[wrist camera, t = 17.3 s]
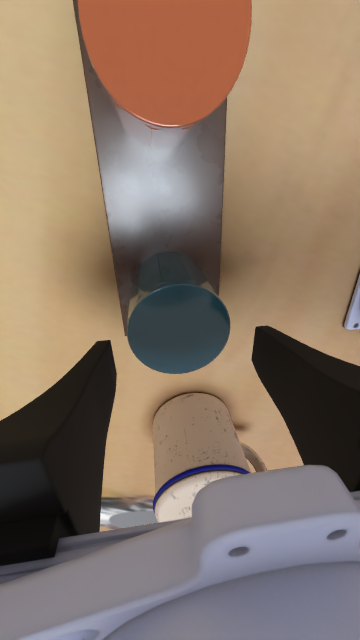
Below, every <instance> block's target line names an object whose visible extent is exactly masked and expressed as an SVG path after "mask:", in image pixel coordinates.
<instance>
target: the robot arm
mask: <svg viewBox="0 0 360 640" xmlns="http://www.w3.org/2000/svg"><path fill="white" fill-rule="evenodd" d="M354 324H355V325H354ZM344 328H346V329H347V330H356V329H360V275H359V278H358V281H357V284H356V288H355V291H354V294H353V297H352V301H351V304H350V307H349V310H348V314H347V317H346V320H345V323H344ZM252 362H253V364H254V367H255V369H256V372H257V374H258V376H259V378H260V380H261V382H262V383H263V385H264V387H265V388H266V390H267V392H268V393H269V395H270V397H271V398H272V400H273V402H274V403H275V405H276V406H277V408H278V410H279V411H280V413H281V415H282V417H283V419H284V421H285V423H286V425H287V427H288V429H289V431H290V433H291V436H292V438H293V440H294V442H295V445H296V447H297V449H298V452H299V454H300V456H301V458H302V461H303V463H304V465H303V466H297V467H290V468H283V469H276V470H269V471H262V472H255V473H248V474H242V475H235V476H228V477H225V478H222V479H218V480H215V481H212V482H210V483H209V484H208V485H206V486H205V487H203V488H202V489H201V490H199V491H198V493H197V494H196V496H195V499H194V501H193V503H192V517H190V518H185V519H179V520H172V521H166V522H160V523H154V524H147V525H141V526H135V527H129V528H122V529H116V530H109V531H103V532H99V530H100V511H101V495H102V481H103V468H104V457H105V446H106V439H107V432H108V427H109V422H110V418H111V413H112V408H113V402H114V397H115V392H116V376H117V373H116V368H115V363H114V357H113V352H112V347H111V341H110V340H105V341H97V342H96V343H95V344H94V345H93V346H92V347H91V349H90V350H89V351H88V352H87V353H86V354H85V355H84V356H83V357H82V359H81V360H80V361H79V362H78V363H77V364H76V365H75V366H74V367H73V368H72V369H71V370H70V371H69V372H68V373H67V374H66V375H65V376H63V377H62V378H61V379H60V380H59V381H58V382H57V383H56V384H54V385H53V386H52V387H51V388H49V389H48V390H47V391H46V392H44V393H43V394H42V395H40V396H39V397H37V398H36V399H34V400H33V401H32V402H30V403H29V404H27V405H26V406H24V407H23V408H21V409H20V410H18V411H16V412H15V413H13V414H11V415H10V416H8V417H6V418H5V419H3V420H1V421H0V640H360V366H357V365H354V364H351V363H348V362H345V361H343V360H340V359H337V358H335V357H332V356H329V355H327V354H325V353H322V352H320V351H318V350H316V349H314V348H311V347H309V346H307V345H305V344H303V343H301V342H299V341H297V340H295V339H293V338H291V337H289V336H288V335H286V334H284V333H282V332H280V331H278V330H276V329H274V328H272V327H269V326H258V327H256V328H255V336H254V345H253V353H252Z"/></svg>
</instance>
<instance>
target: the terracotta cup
mask: <svg viewBox="0 0 360 640" xmlns="http://www.w3.org/2000/svg"><path fill="white" fill-rule="evenodd" d="M78 10H79V20H80V25H81V30H82V35H83V39H84V42H85V45H86V49H87V52H88V55H89V58H90V61H91V64H92V66H93V68H94V71H95V73H96V75H97V78H98V80H99V82H100V84H101V87H102V89H103V91H104V94H105V96H106V98H107V100H108V103H109V105H110V107H111V109H112V111H113V112H114V114H115V116H116V118H117V119H118V121H119V123H120V124H121V126H122V128H123V129H124V131H125V133H127V135H129V136H130V137H132V138H133V139H135V140H137V141H138V142H140V143H141V144H143V145H145V146H146V147H148V148H173V147H175V146H177V145H178V144H179V143H181V142H182V141H183V140H185V139H186V138H187V137H189V136H190V135H192V134H193V133H194V132H195V131H196V130H197V129H198V128H199V127H200V126H201V125H202V124H203V123H204V122H205V121H206V120H207V119H208V118H209V117H210V116H211V115H212V114H213V112H214V111H215V110H216V109H217V108H218V107H219V106H220V105H221V104H222V102H223V101H224V100H225V98H226V97H227V95H228V94H229V93H230V91H231V90H232V88H233V86H234V84H235V82H236V81H237V79H238V76H239V74H240V71H241V69H242V67H243V64H244V60H245V57H246V54H247V49H248V44H249V39H250V31H251V18H252V4H251V0H78Z"/></svg>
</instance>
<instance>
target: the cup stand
mask: <svg viewBox="0 0 360 640" xmlns="http://www.w3.org/2000/svg"><path fill="white" fill-rule="evenodd" d="M73 4H74V11H75V17H76V23H77V30H78V36H79V43H80V49H81V55H82V62H83V68H84V75H85V81H86V88H87V94H88V100H89V107H90V113H91V120H92V126H93V133H94V139H95V145H96V152H97V158H98V165H99V171H100V177H101V184H102V190H103V197H104V203H105V210H106V216H107V222H108V229H109V235H110V242H111V248H112V254H113V261H114V267H115V274H116V280H117V287H118V293H119V299H120V306H121V312H122V319H123V325H124V331H125V336H127V326H128V322H127V320H128V312H129V304H130V295H131V287H132V281H133V278H134V276H135V274H136V272H137V270H138V268H139V265H141V263H143V262H144V261H146V260H147V259H149V258H150V257H152V256H153V255H155V254H157V253H166V252H179V253H181V254H183V255H185V256H187V257H188V258H190V259H192V260H194V261H195V262H196V263H197V265H198V266H199V268H200V270H201V271H202V273H203V274H204V276H205V277H206V279H207V280H208V282H209V283H210V285H211V286H212V288H213V289H214V291H215V292H216V294H217V296H218V297H219V278H220V254H221V230H222V206H223V182H224V158H225V134H226V110H227V97H226V98H225V100H224V101H223V102H222V104H221V105H220V106H219V107H218V108H217V109H216V110H215V111H214V112H213V114H212V115H211V116H210V117H209V118H208V119H207V120H206V121H205V122H204V123H203V124H202V125H201V126H200V127H199V128H198V129H197V130H196V131H195V132H194V133H193V134H192V135H190V136H189V137H187V138H186V139H185V140H183V141H182V142H181V143H179V144H178V145H177V146H175V147H173V148H148V147H146V146H145V145H143V144H141V143H140V142H138V141H137V140H135V139H133V138H132V137H130V136H129V135H127V133H125V131H124V129H123V128H122V126H121V124H120V123H119V121H118V119H117V118H116V116H115V114H114V112H113V111H112V109H111V107H110V105H109V103H108V100H107V98H106V96H105V94H104V91H103V89H102V87H101V84H100V82H99V80H98V78H97V75H96V73H95V71H94V68H93V66H92V64H91V61H90V58H89V55H88V52H87V49H86V45H85V42H84V39H83V35H82V30H81V25H80V20H79V10H78V0H73Z"/></svg>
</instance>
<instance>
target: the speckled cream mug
mask: <svg viewBox="0 0 360 640" xmlns="http://www.w3.org/2000/svg"><path fill="white" fill-rule="evenodd" d="M153 443H154V469H155V497H154V500H153V510H154V513H155V516H156V518H157V520H158V522H159V523H160V522H166V521H172V520H179V519H185V518H190V517H192V503H193V501H194V499H195V496H196V494H197V493H198V491H199V490H201V489H202V488H203V487H205V486H206V485H208V484H209V483H210V482H212V481H215V480H218V479H222V478H225V477H228V476H235V475H242V474H248V473H251V471H250V469H249V466H248V463H247V460H246V458H247V459H248V460H249V461H250V463H251V464H252V465H253V467H254V468H255V470H256V472H262V471H267V468H266V466H265V464H264V463H263V461H262V460H261V458H260V457H259V456H258V455H257V453H256V452H255V451H254V450H252V449H251V448H250V447H249V446H247V445H245V444H243V443H240V442H239V439H238V436H237V434H236V431H235V428H234V426H233V423H232V420H231V417H230V415H229V412H228V410H227V408H226V406H225V405H224V403H223V402H222V401H220V400H219V399H218V398H216V397H214V396H211V395H208V394H203V393H189V394H184V395H181V396H178V397H175V398H173V399H171V400H170V401H168V402H167V403H165V404H164V405H163V406H162V407H161V408H160V409H159V410H158V412H157V413H156V415H155V417H154V421H153Z"/></svg>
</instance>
